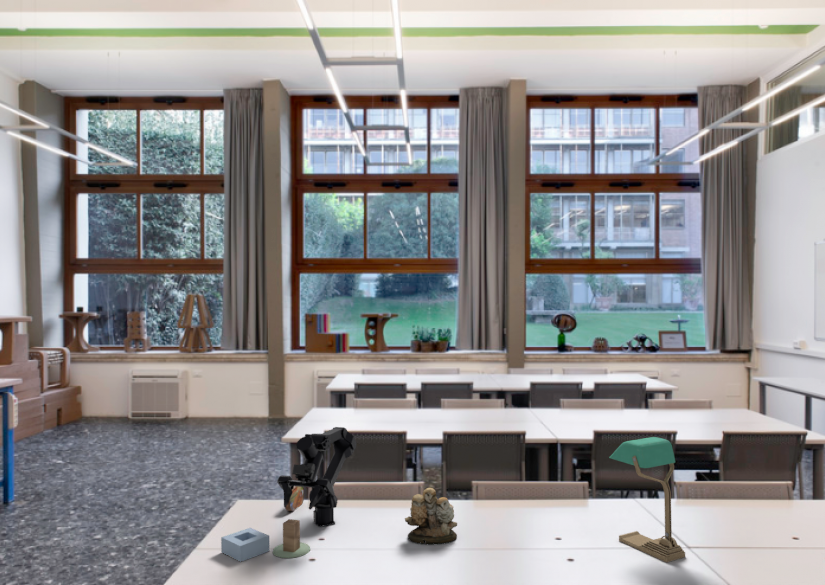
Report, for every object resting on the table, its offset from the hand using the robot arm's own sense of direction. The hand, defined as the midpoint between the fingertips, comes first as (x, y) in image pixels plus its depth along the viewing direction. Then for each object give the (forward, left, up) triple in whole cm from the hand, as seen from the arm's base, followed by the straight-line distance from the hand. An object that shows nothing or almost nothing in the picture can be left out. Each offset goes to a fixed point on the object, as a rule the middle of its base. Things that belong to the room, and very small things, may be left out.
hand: (297, 507), depth 206 cm
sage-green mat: (+3, +3, -13) cm, 13 cm away
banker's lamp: (-102, +56, -13) cm, 117 cm away
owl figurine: (-43, +15, -13) cm, 47 cm away
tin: (-10, -38, -13) cm, 41 cm away
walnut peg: (+3, +3, -12) cm, 13 cm away
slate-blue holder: (+16, -3, -13) cm, 21 cm away
